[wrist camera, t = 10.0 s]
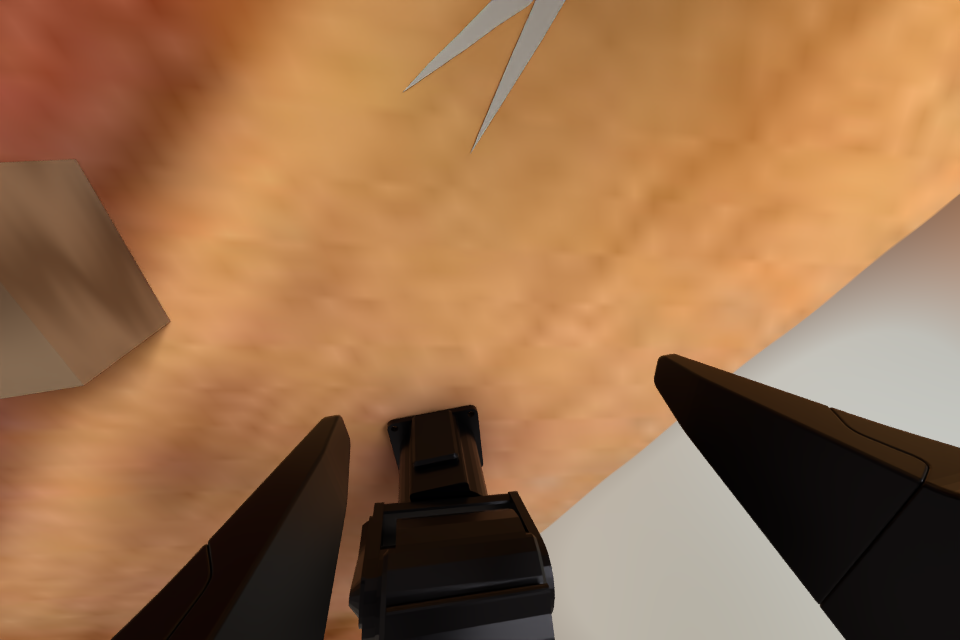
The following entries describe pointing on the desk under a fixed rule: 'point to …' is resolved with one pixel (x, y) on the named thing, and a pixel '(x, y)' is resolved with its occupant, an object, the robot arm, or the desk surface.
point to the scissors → (540, 19)
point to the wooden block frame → (64, 282)
